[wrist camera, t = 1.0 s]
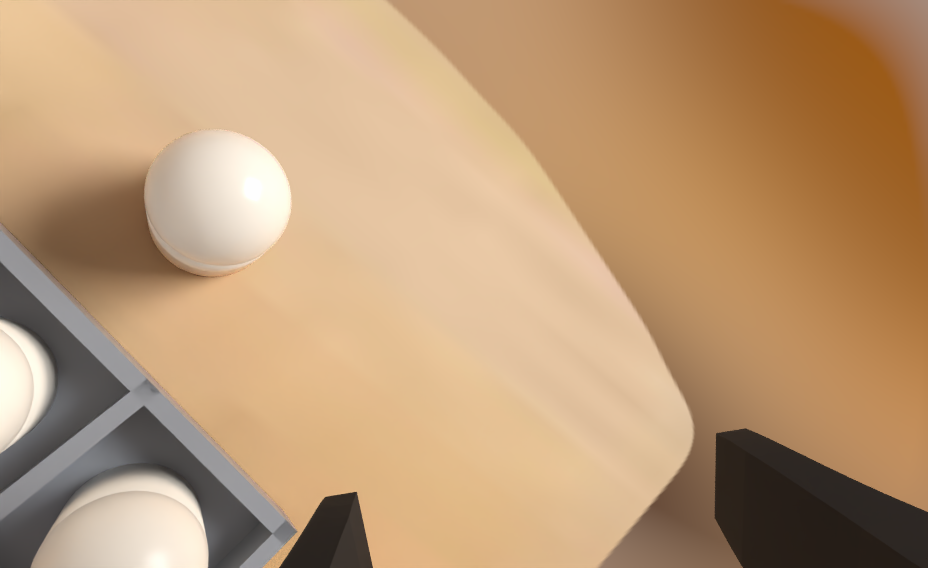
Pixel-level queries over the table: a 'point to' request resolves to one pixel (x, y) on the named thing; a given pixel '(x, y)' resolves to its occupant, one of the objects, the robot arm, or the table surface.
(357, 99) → the table surface
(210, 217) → the egg
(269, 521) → the egg crate
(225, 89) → the table surface
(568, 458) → the table surface
